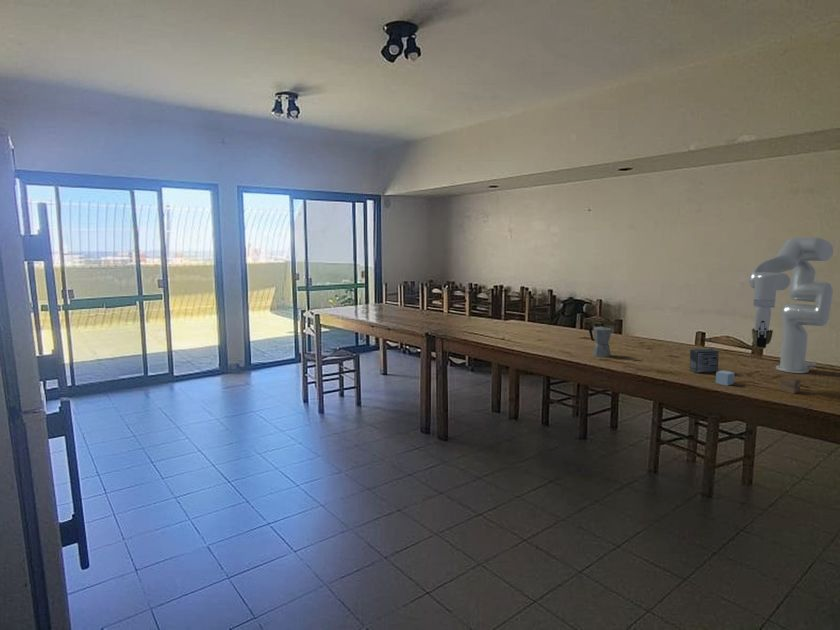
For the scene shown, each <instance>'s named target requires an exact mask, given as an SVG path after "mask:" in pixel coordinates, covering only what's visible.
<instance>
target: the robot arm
mask: <svg viewBox="0 0 840 630" xmlns="http://www.w3.org/2000/svg"><path fill="white" fill-rule="evenodd" d="M833 254H834V247H833V245H832V243H831V242H829V241H828V240H826V239H824V238H821V237H792V238H789V239H787V240H786V241H785V242H784V244H783V245H782V246H781V248H780V249H779V251H778V253H777V254H776V256H774V257H771V258H769V259H767V260H765V261H763V262H760V263H759V264H757V266H756V267H755V268H754V270H753V271H752V273H751V274H750V276H749V283H748V284H749V286H750V287H751V288H752V289H753V291H754V292H753V293H754V294H753V305H752V306H753V308H755V314H754V330H755V331H756V330H758V337H757V344H756V345H757V347H766V348H767V345H766V331H768V330H769V328H770V324H771V315H772V313H771V312H772V309H774V308H775V307H776V294H777V292H778V291H780V292H781V291H785V290H786V289H787V288H789V293H788V295H789V298H790V300H792V301H794V302H795V301H796V302H803V303H788V304H785V305H784V306H783V307H782V309H781V321H782V334H781V335H782V338H781V349H780V359H779V360H780V361H779V362H780V363H779V364H777V365H776V366H775V370H777V371H781V372H785V373H791V374H793V373H794V374H808V373H809V371H810V369H809V368H810V367H812V368H814V367H816V366H817V363H816V362H809V361H807V359H806V358H807V348H808V347H807V346H808V331H807V330H806V328H805V327H804V326H812V327H823V326H826V325H827V323H828V322H829V318H830V313H831V307H832V302H833V297H834V296H833V295H834V289H833V286H832V284H831V283H829V282H827V281H817V280H816V281H815V277H816V270H815V267H814V266H813V264H812V263H810V262H813V261H814V262H817V261H818V262H825V261H829V260H831V258H832V256H833ZM791 270H792V273H791V275H792V276H791V278H790V276H789V275H788V274H787V273H784V272H788V271H791ZM804 302H806V303H816V304H806V303H804ZM764 332H765V333H764ZM759 335H760V336H759ZM757 347H756V348H757Z"/></svg>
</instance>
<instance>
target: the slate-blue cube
mask: <svg viewBox="0 0 840 630" xmlns="http://www.w3.org/2000/svg"><path fill="white" fill-rule="evenodd" d="M735 374H736V373H735V372H732V371H728V370H724V369H723V370H718V372H716V373H715V384H719V385H723V386H731V385H734V384H735Z"/></svg>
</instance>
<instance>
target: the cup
mask: <svg viewBox="0 0 840 630" xmlns="http://www.w3.org/2000/svg"><path fill="white" fill-rule="evenodd" d="M764 333H765V332H764ZM773 333H774V330H773V329H770V330H769V329H768V331H766V347H757V337H758V330H756V331H755V330H754V328H752V329H751V338H752V341H753V343H754V344H755V347H756V349H762V350H763V349H766V348H767V345H769V344H770V343H771V340H772V337H773ZM759 336H760V335H759Z"/></svg>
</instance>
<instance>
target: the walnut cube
mask: <svg viewBox="0 0 840 630" xmlns="http://www.w3.org/2000/svg"><path fill="white" fill-rule="evenodd" d="M779 390H780V391H781V392H786V393H790V394H796V393H799V392H801V379H798V378H794V377H789V376H786V377H782V378H780V387H779Z"/></svg>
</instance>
